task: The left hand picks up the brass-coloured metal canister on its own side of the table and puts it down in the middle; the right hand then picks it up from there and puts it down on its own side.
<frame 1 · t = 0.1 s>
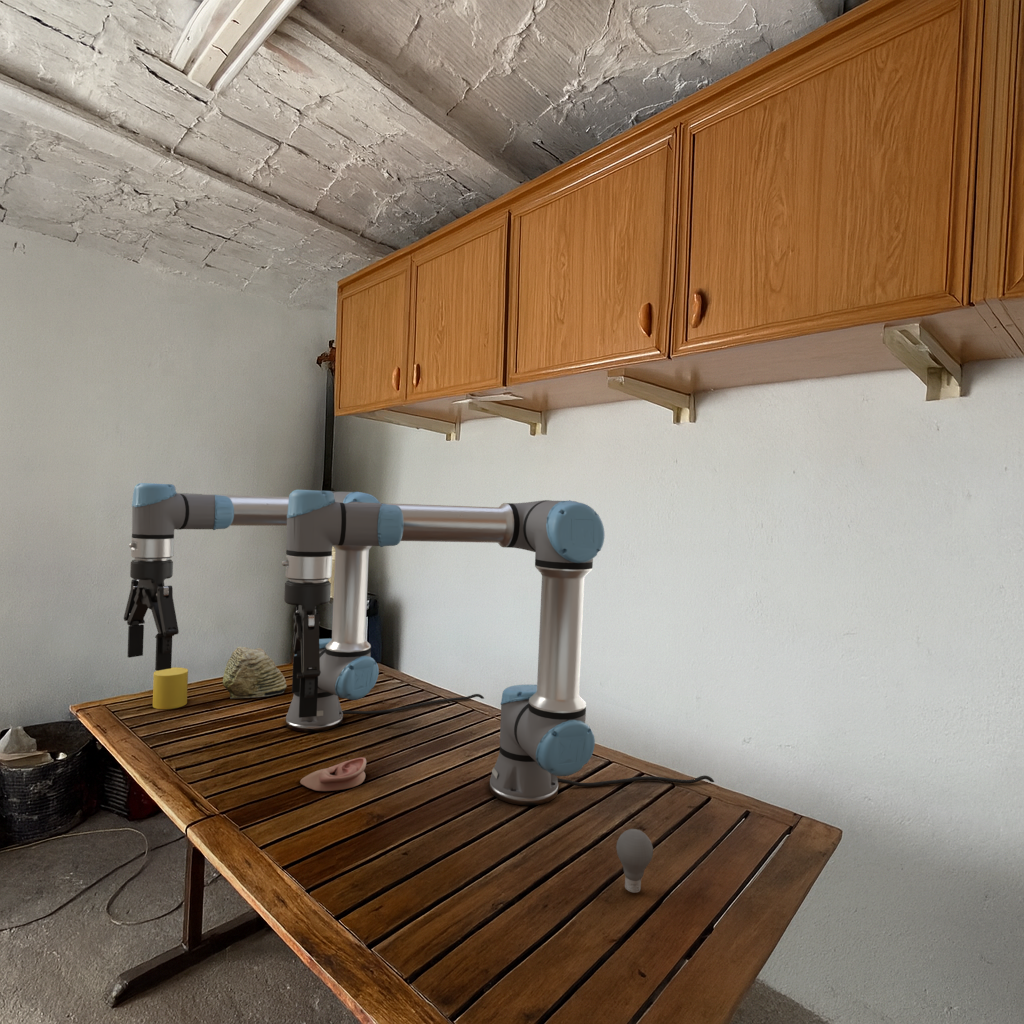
left hand: (148, 662, 129), 28 cm above the table, tool pointing down, fingers open, 13 cm apart
right hand: (303, 703, 109), 28 cm above the table, tool pointing down, fingers open, 13 cm apart
light bulb: (632, 891, 106), on the table
anatomical model: (333, 781, 141), on the table
canister: (169, 704, 186), on the table
fossil: (254, 694, 198), on the table
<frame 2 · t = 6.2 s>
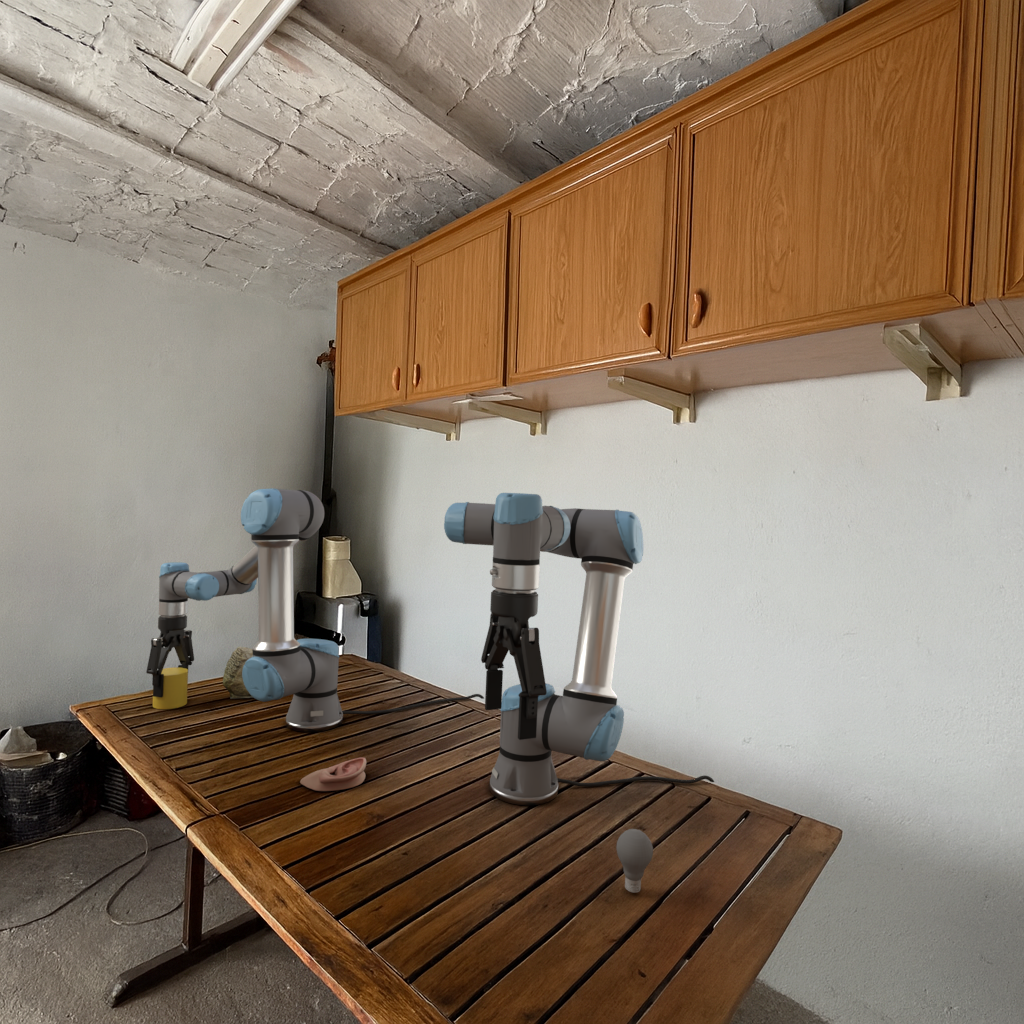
left hand: (170, 691, 186), 4 cm above the table, tool pointing down, fingers closed on canister, 9 cm apart
right hand: (508, 722, 101), 29 cm above the table, tool pointing down, fingers open, 13 cm apart
canister: (169, 704, 186), on the table, touching left hand
everything else where it was.
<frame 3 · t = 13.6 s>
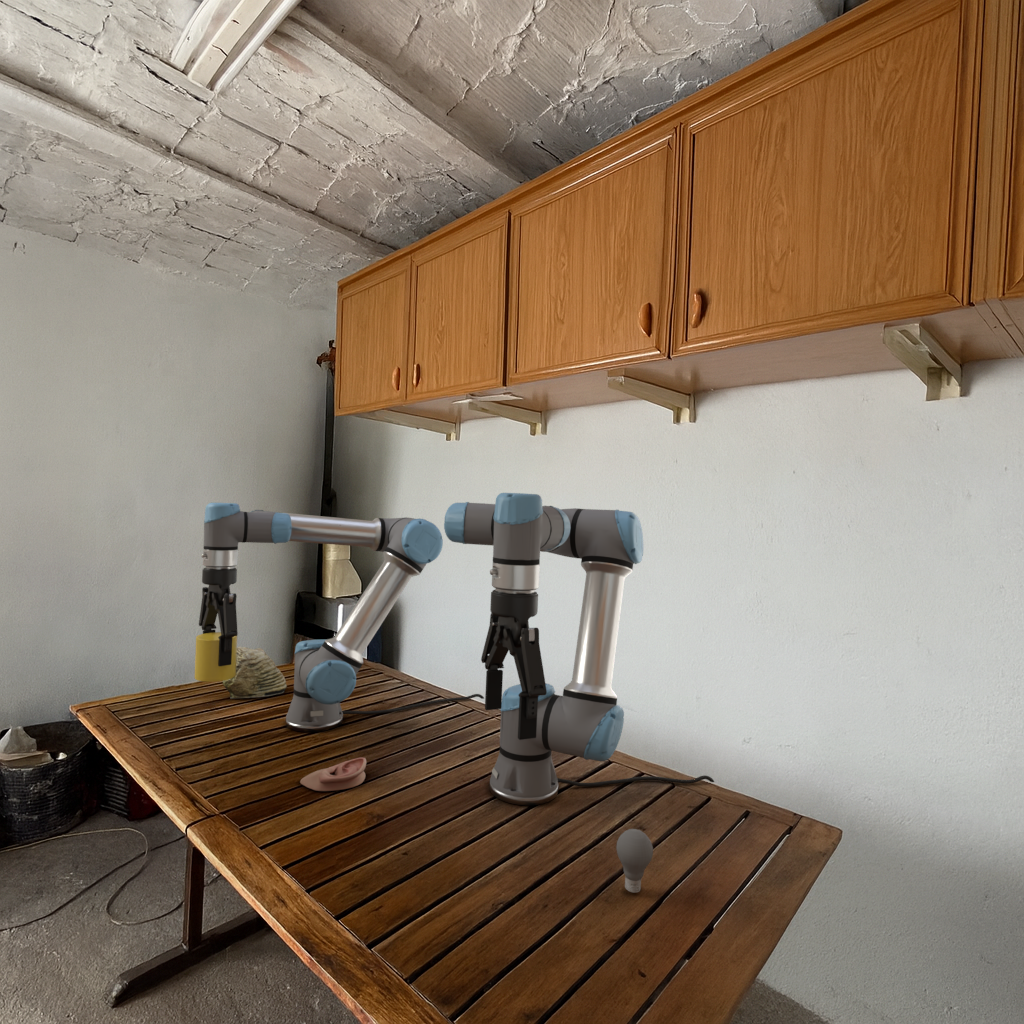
left hand: (216, 660, 152), 23 cm above the table, tool pointing down, fingers closed on canister, 9 cm apart
right hand: (508, 722, 101), 29 cm above the table, tool pointing down, fingers open, 13 cm apart
canister: (215, 676, 152), point 19 cm above the table, touching left hand
everything else where it was.
when the left hand's fingers open (5 cm above the table, at t = 21.1 s): canister drops 1 cm, on the table.
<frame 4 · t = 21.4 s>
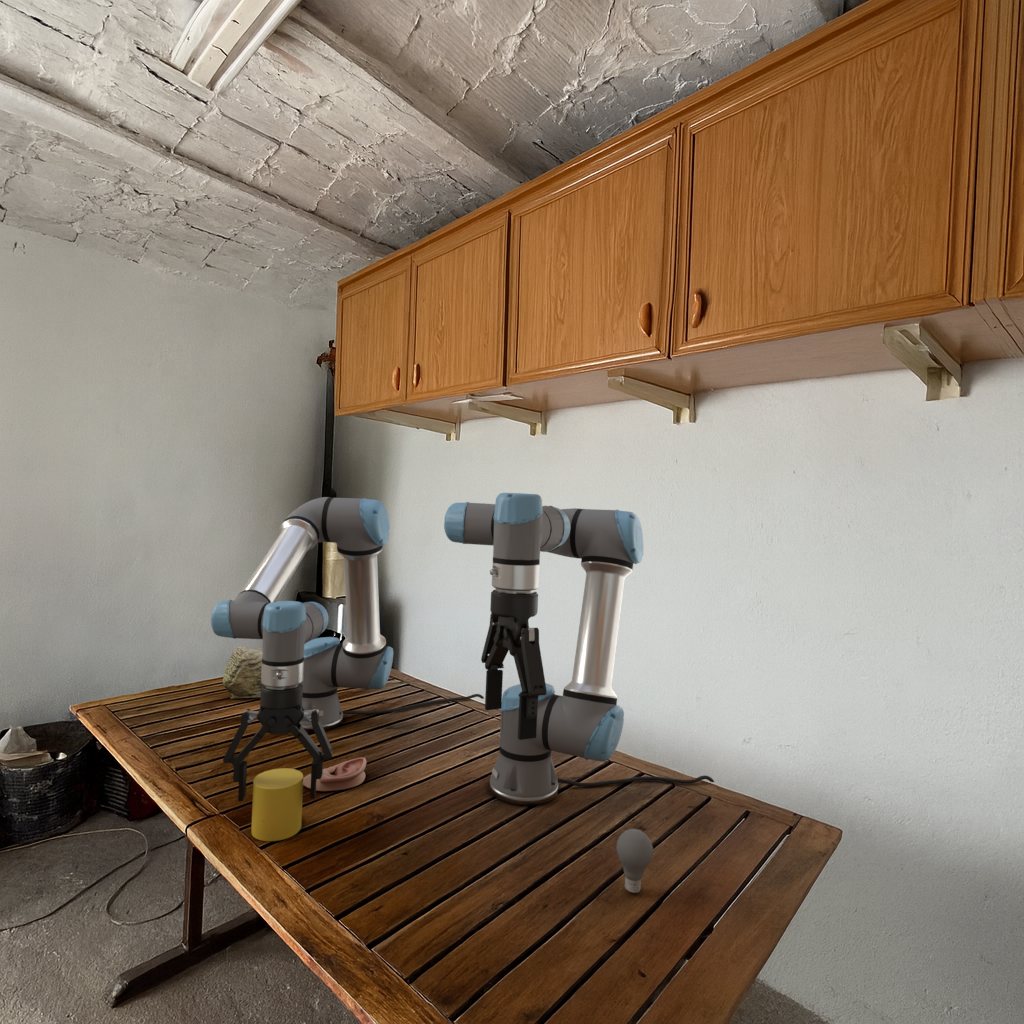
left hand: (277, 796, 120), 6 cm above the table, tool pointing down, fingers open, 12 cm apart
right hand: (508, 722, 101), 29 cm above the table, tool pointing down, fingers open, 13 cm apart
canister: (276, 828, 120), on the table
everything else where it was.
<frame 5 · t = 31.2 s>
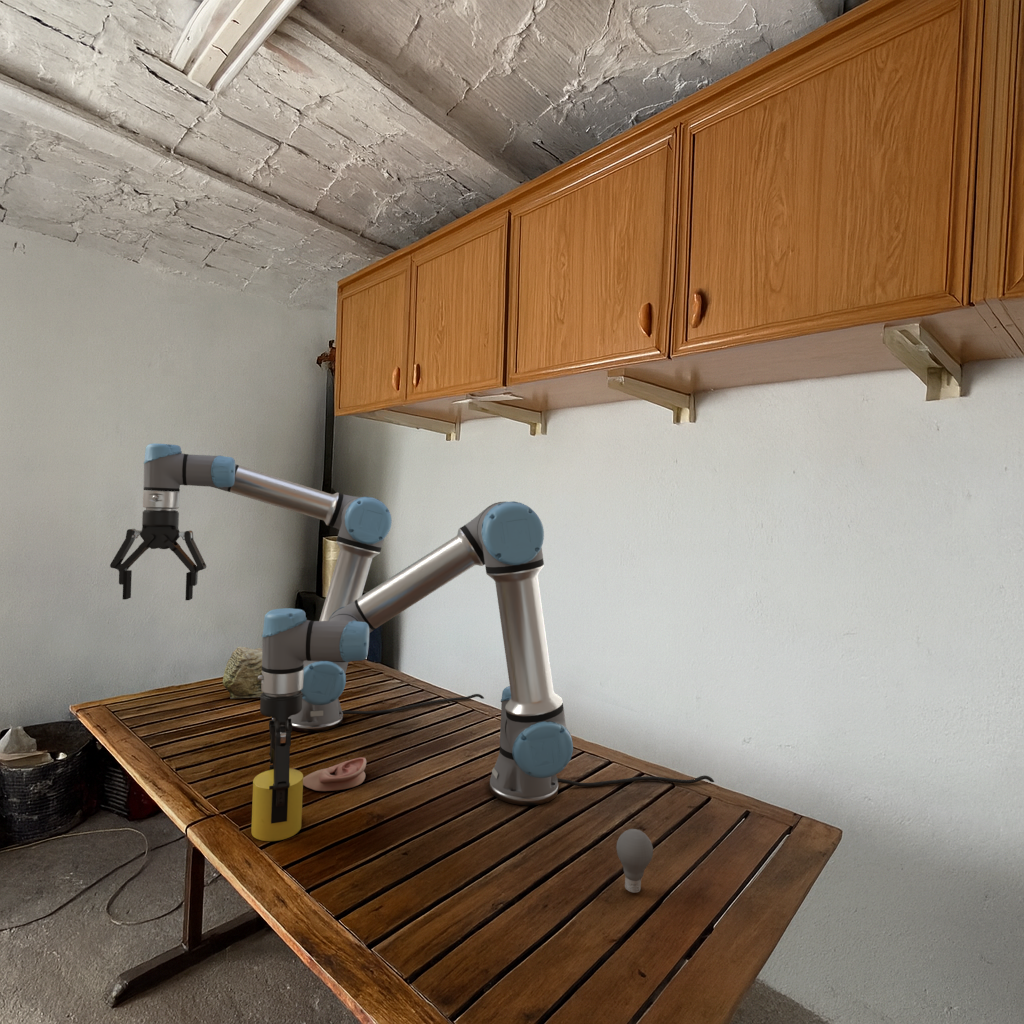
left hand: (158, 599, 150), 37 cm above the table, tool pointing down, fingers open, 13 cm apart
right hand: (277, 809, 120), 4 cm above the table, tool pointing down, fingers closed on canister, 9 cm apart
canister: (276, 828, 120), on the table, touching right hand
everything else where it was.
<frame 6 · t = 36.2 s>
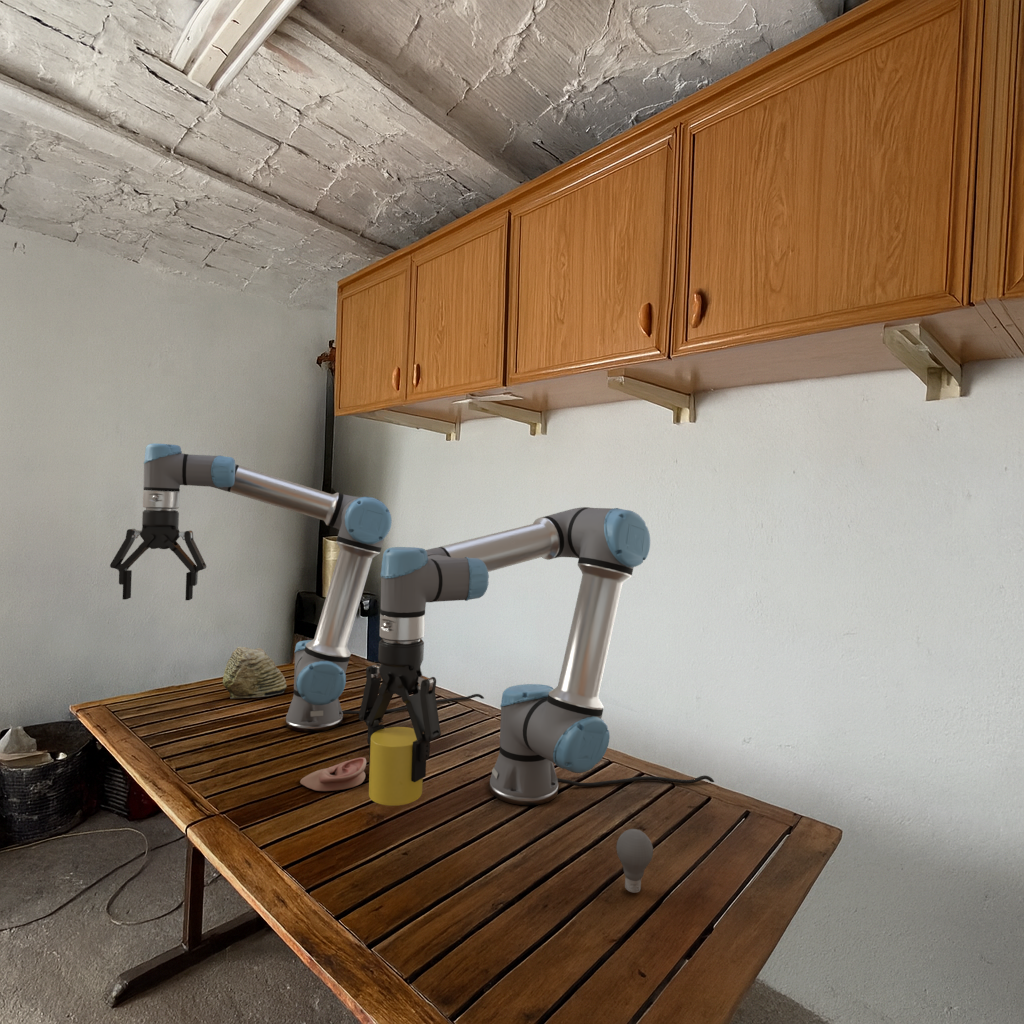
left hand: (158, 599, 150), 37 cm above the table, tool pointing down, fingers open, 13 cm apart
right hand: (396, 771, 107), 18 cm above the table, tool pointing down, fingers closed on canister, 9 cm apart
canister: (395, 793, 107), point 14 cm above the table, touching right hand
everything else where it was.
when the right hand's fingers open (5 cm above the table, at t = 41.3 s): canister drops 1 cm, on the table.
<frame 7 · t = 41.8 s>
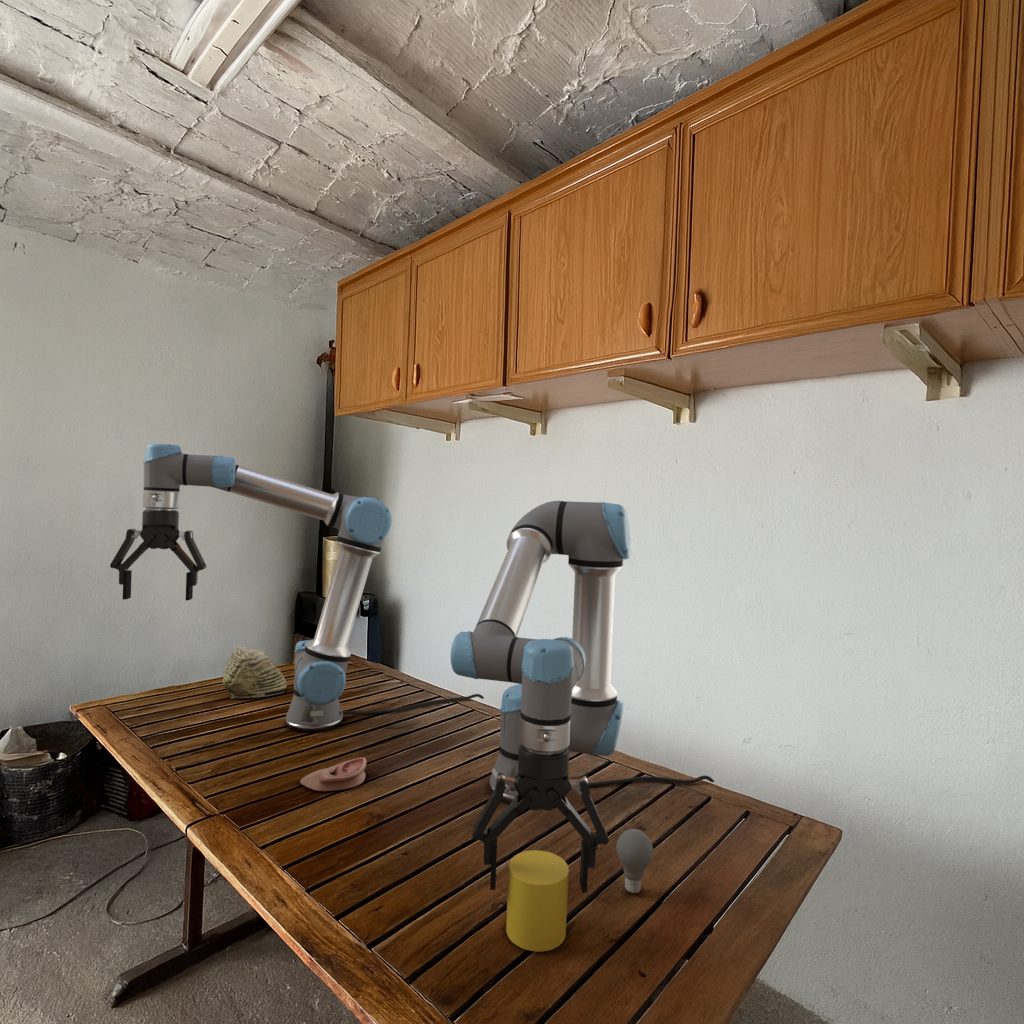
left hand: (158, 599, 150), 37 cm above the table, tool pointing down, fingers open, 13 cm apart
right hand: (538, 886, 95), 7 cm above the table, tool pointing down, fingers open, 13 cm apart
canister: (535, 930, 95), on the table
everything else where it was.
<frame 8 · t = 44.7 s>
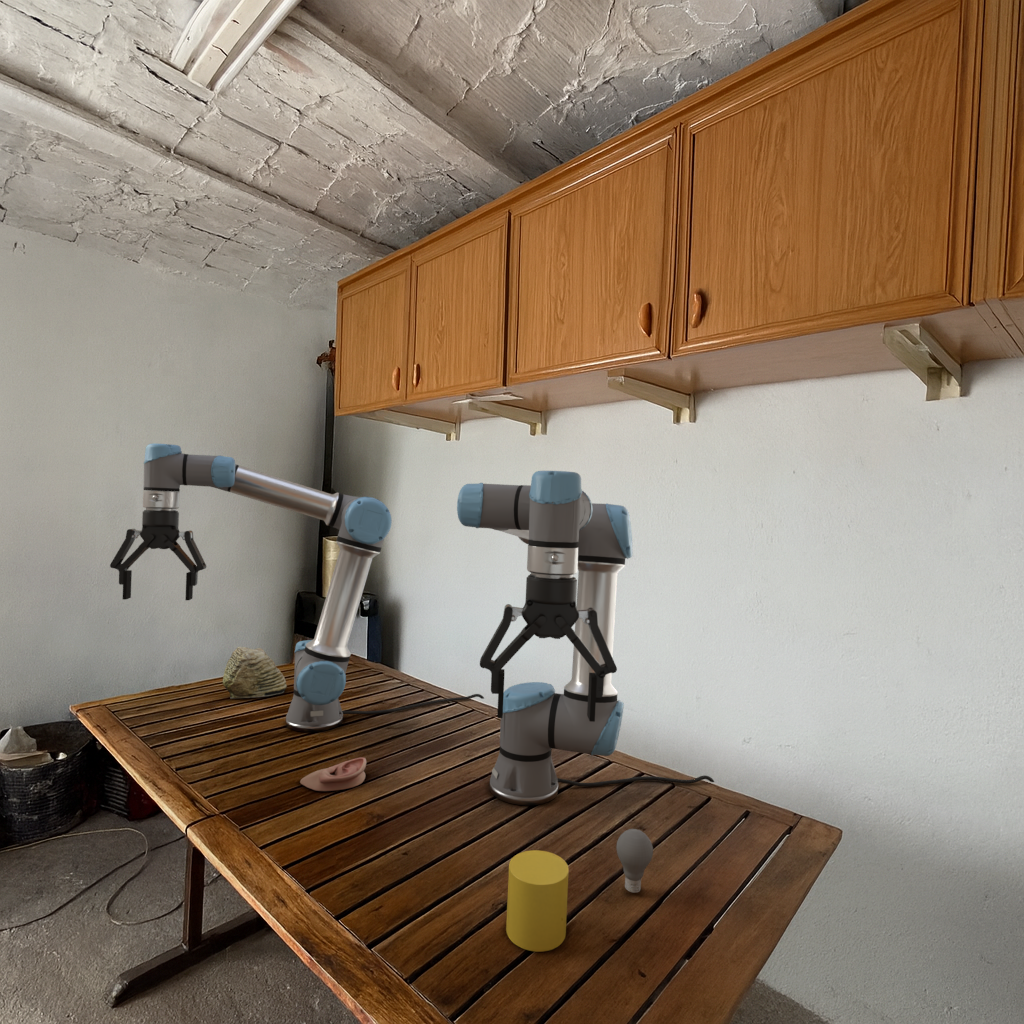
left hand: (158, 599, 150), 37 cm above the table, tool pointing down, fingers open, 13 cm apart
right hand: (545, 717, 94), 32 cm above the table, tool pointing down, fingers open, 13 cm apart
nothing on the table moved.
at the end: canister inside the target area (0.0 cm from its centre), on the table; canister tilted 0°; the two hands never held the canister at the same time; the left hand is holding nothing; the right hand is holding nothing; canister at rest at the end (0.0 cm/s) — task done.
